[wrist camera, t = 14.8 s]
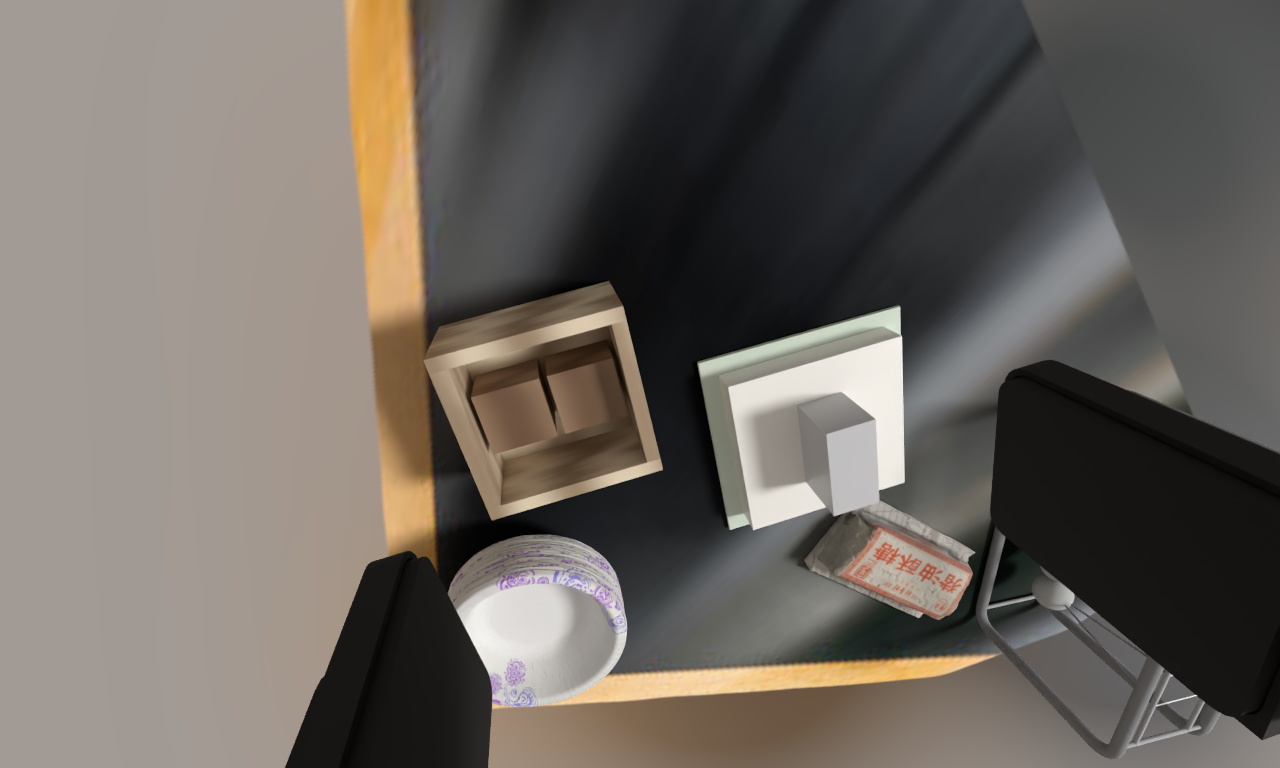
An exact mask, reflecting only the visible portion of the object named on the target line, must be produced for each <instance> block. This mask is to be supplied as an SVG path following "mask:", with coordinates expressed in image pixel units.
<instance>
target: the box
mask: <svg viewBox="0 0 1280 768" xmlns="http://www.w3.org/2000/svg"><path fill="white" fill-rule="evenodd" d="M423 361H424V364H425V366H426V368H427V371H428V373H429V375H430V378H431V380H432V382H433V385H434V387H435V389H436V392H437V394H438V396H439V399H440V401H441V403H442V406H443V408H444V410H445V413H446V415H447V417H448V420H449V422H450V424H451V427H452V429H453V431H454V434H455V436H456V438H457V441H458V443H459V445H460V447H461V450H462V452H463V454H464V457H465V459H466V461H467V464H468V466H469V468H470V471H471V473H472V475H473V478H474V480H475V482H476V485H477V487H478V489H479V492H480V494H481V496H482V499H483V501H484V503H485V506H486V508H487V510H488V513H489V515H490V517H491V520H495V519H498V518H502V517H505V516H509V515H512V514H515V513H519V512H522V511H525V510H529V509H532V508H536V507H539V506H542V505H546V504H549V503H552V502H556V501H559V500H562V499H566V498H569V497H573V496H576V495H579V494H583V493H586V492H589V491H593V490H596V489H600V488H603V487H606V486H610V485H613V484H616V483H620V482H623V481H627V480H630V479H633V478H637V477H640V476H643V475H647V474H650V473H654V472H657V471H660V470H663V468H662V464H661V460H660V456H659V452H658V447H657V443H656V439H655V435H654V431H653V427H652V423H651V419H650V415H649V411H648V406H647V402H646V398H645V394H644V390H643V386H642V382H641V378H640V374H639V369H638V365H637V361H636V357H635V353H634V349H633V345H632V341H631V337H630V333H629V328H628V324H627V320H626V316H625V312H624V308H623V305H622V303H621V302H620V300H619V298H618V296H617V295H616V293H615V291H614V289H613V288H612V286H611V284H610V282H609V281H607V282H603V283H600V284H596V285H592V286H588V287H585V288H581V289H577V290H573V291H570V292H566V293H562V294H558V295H555V296H551V297H547V298H544V299H540V300H536V301H532V302H529V303H525V304H521V305H517V306H514V307H510V308H506V309H503V310H499V311H495V312H491V313H488V314H484V315H480V316H476V317H473V318H469V319H465V320H461V321H458V322H454V323H450V324H447V325H443V326H439V328H438V330H437V332H436V334H435V336H434V339H433V341H432V343H431V345H430V347H429V349H428V351H427V353H426V355H425V357H424V359H423Z"/></svg>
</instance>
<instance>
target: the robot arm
mask: <svg viewBox="0 0 1280 768" xmlns="http://www.w3.org/2000/svg"><path fill="white" fill-rule="evenodd" d="M990 514H991V518H992V521H993V523H994V525H995V526H996V528H997V529H998V530H999V531H1000V532H1001V533H1002V534H1003V535H1004V536H1005V537H1006V538H1007V539H1009V540H1010V541H1011V542H1012V543H1014V544H1015V545H1016V546H1017V547H1018V548H1020V549H1021V550H1022V551H1023V552H1024V553H1026V554H1027V555H1028V556H1029V557H1030V558H1032V559H1033V560H1034V561H1035V562H1036V563H1038V564H1039V565H1040V566H1041V567H1042V568H1044V569H1045V570H1046V571H1047V572H1048V573H1050V574H1051V575H1052V576H1053V577H1054V578H1056V579H1057V580H1058V581H1059V582H1061V583H1062V584H1063V585H1064V586H1065V587H1067V588H1068V589H1069V590H1070V591H1071V592H1073V593H1074V594H1075V595H1076V596H1077V597H1079V598H1080V599H1081V600H1082V601H1083V602H1085V603H1086V604H1087V605H1088V606H1089V607H1091V608H1092V609H1093V610H1094V611H1095V612H1097V613H1098V614H1099V615H1100V616H1101V617H1103V618H1104V619H1105V620H1106V621H1108V622H1109V623H1110V624H1111V625H1112V626H1114V627H1115V628H1116V629H1117V630H1118V631H1120V632H1121V633H1122V634H1123V635H1124V636H1126V637H1127V638H1128V639H1129V640H1130V641H1132V642H1133V643H1134V644H1135V645H1137V646H1138V647H1139V648H1140V649H1141V650H1142V651H1144V652H1145V653H1146V654H1147V655H1148V656H1150V657H1151V658H1152V659H1153V660H1155V661H1156V662H1157V663H1158V664H1159V665H1161V666H1162V667H1163V668H1164V669H1165V670H1167V671H1168V672H1169V673H1170V674H1171V675H1173V676H1174V677H1175V678H1176V679H1178V680H1179V681H1180V682H1181V683H1182V684H1184V685H1185V686H1186V687H1187V688H1188V689H1190V690H1191V691H1192V692H1193V693H1194V694H1195V695H1197V696H1198V697H1199V698H1200V699H1202V700H1203V701H1204V702H1205V703H1206V704H1208V705H1209V706H1210V707H1212V708H1213V709H1215V710H1216V711H1218V712H1220V713H1222V714H1224V715H1227V716H1231V717H1234V718H1235V719H1237V720H1238V721H1239V722H1241V723H1242V724H1243V725H1244V726H1245V727H1247V728H1248V729H1249V730H1250V731H1251V732H1253V733H1254V734H1255V735H1256V736H1258V737H1259V738H1260V739H1261V740H1264V739H1267V738H1269V737H1272V736H1275V735H1277V734H1280V454H1279V453H1276V452H1274V451H1271V450H1269V449H1267V448H1264V447H1262V446H1259V445H1257V444H1255V443H1252V442H1250V441H1247V440H1245V439H1243V438H1240V437H1238V436H1235V435H1233V434H1231V433H1228V432H1226V431H1223V430H1221V429H1219V428H1216V427H1214V426H1211V425H1209V424H1207V423H1204V422H1202V421H1199V420H1197V419H1195V418H1192V417H1190V416H1187V415H1185V414H1183V413H1180V412H1178V411H1175V410H1173V409H1171V408H1168V407H1166V406H1163V405H1161V404H1159V403H1156V402H1154V401H1151V400H1149V399H1147V398H1144V397H1142V396H1139V395H1137V394H1135V393H1132V392H1130V391H1127V390H1125V389H1123V388H1120V387H1118V386H1115V385H1113V384H1111V383H1108V382H1106V381H1103V380H1101V379H1099V378H1096V377H1094V376H1091V375H1089V374H1087V373H1084V372H1082V371H1079V370H1077V369H1075V368H1072V367H1070V366H1067V365H1065V364H1063V363H1060V362H1058V361H1053V360H1045V361H1041V362H1038V363H1034V364H1031V365H1028V366H1024V367H1021V368H1018V369H1014V370H1013V371H1011V372H1009V374H1008V375H1007V377H1006V379H1005V382H1004V383H1003V384H1002V385H1001V386H1000V389H999V397H998V411H997V424H996V438H995V452H994V465H993V479H992V493H991V507H990ZM491 712H492V685H491V680H490V676H489V674H488V671H487V669H486V667H485V665H484V663H483V661H482V659H481V657H480V656H479V654H478V652H477V650H476V648H475V646H474V644H473V642H472V640H471V638H470V636H469V634H468V632H467V630H466V628H465V626H464V625H463V623H462V621H461V619H460V617H459V615H458V613H457V611H456V609H455V607H454V605H453V603H452V601H451V599H450V597H449V596H448V594H447V592H446V590H445V588H444V586H443V584H442V582H441V580H440V578H439V576H438V574H437V572H436V570H435V568H434V567H433V565H432V563H431V561H430V560H429V559H428V558H427V557H421V558H417V557H416V555H415V554H414V553H413V552H411V551H406V552H403V553H400V554H396V555H393V556H390V557H386V558H383V559H379V560H376V561H373V562H371V563H369V564H368V565H367V567H366V569H365V571H364V574H363V576H362V579H361V582H360V584H359V587H358V590H357V592H356V595H355V597H354V600H353V602H352V605H351V608H350V610H349V613H348V616H347V618H346V621H345V623H344V626H343V629H342V631H341V634H340V637H339V639H338V642H337V645H336V647H335V650H334V652H333V655H332V658H331V660H330V663H329V665H328V668H327V671H326V674H325V676H324V677H323V678H322V679H321V680H320V682H319V684H318V686H317V688H316V690H315V692H314V694H313V697H312V700H311V702H310V705H309V707H308V710H307V712H306V715H305V718H304V720H303V723H302V725H301V728H300V730H299V733H298V736H297V738H296V741H295V743H294V746H293V749H292V751H291V754H290V756H289V759H288V762H287V764H286V767H285V768H488V758H489V742H490V727H491Z"/></svg>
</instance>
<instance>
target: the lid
mask: <svg viewBox="0 0 1280 768" xmlns="http://www.w3.org/2000/svg"><path fill="white" fill-rule="evenodd" d="M718 376H719V381H720V387H721V392H722V398H723V403H724V409H725V414H726V420H727V425H728V431H729V436H730V442H731V447H732V452H733V458H734V463H735V469H736V474H737V480H738V485H739V491H740V496H741V502H742V507H743V513H744V515H745V517H746V518H747V520H748V522H749V524H750V525H751V527H752V529H753V530H755V529H759V528H762V527H765V526H768V525H771V524H774V523H778V522H781V521H784V520H787V519H790V518H793V517H797V516H800V515H803V514H806V513H809V512H812V511H816V510H819V509H822V508H825V507H827V509H828V510H829V511H830V512H831V514H832V515H833V516H837V515H840V514H843V513H846V512H849V511H853V510H856V509H859V508H862V507H865V506H868V505H872V504H875V503H878V502H879V490H882V489H885V488H889V487H892V486H895V485H898V484H901V483H904V482H905V475H904V422H903V369H902V336H901V335H899V334H897V333H895V332H893V331H891V330H889V329H887V328H886V327H882V328H878V329H875V330H871V331H868V332H864V333H861V334H858V335H854V336H851V337H847V338H844V339H841V340H837V341H834V342H830V343H827V344H823V345H820V346H817V347H813V348H810V349H806V350H803V351H800V352H796V353H793V354H789V355H786V356H782V357H779V358H776V359H772V360H769V361H765V362H762V363H759V364H755V365H752V366H748V367H745V368H742V369H738V370H735V371H731V372H728V373H724V374H721V375H718Z"/></svg>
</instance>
